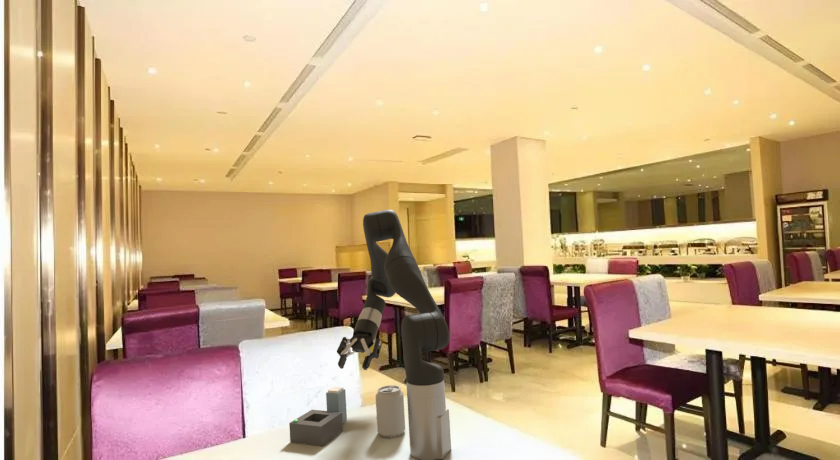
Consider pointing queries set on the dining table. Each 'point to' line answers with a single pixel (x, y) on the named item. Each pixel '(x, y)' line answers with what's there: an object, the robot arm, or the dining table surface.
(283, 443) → the dining table surface
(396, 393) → the can
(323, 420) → the port block
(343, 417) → the plug
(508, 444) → the dining table surface
